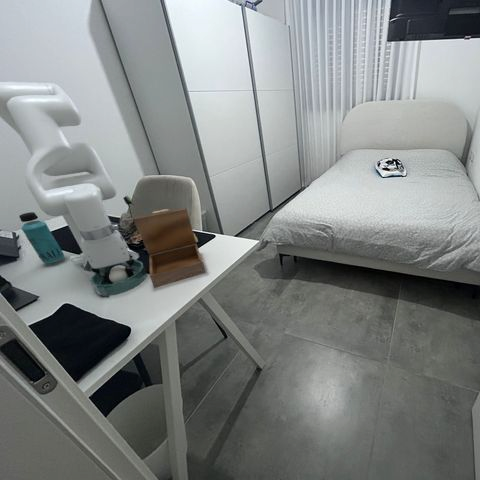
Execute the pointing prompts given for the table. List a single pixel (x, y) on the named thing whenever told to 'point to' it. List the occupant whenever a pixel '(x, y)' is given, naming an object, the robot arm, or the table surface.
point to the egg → (118, 274)
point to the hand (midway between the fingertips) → (121, 279)
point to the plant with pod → (129, 223)
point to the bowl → (119, 287)
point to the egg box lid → (165, 230)
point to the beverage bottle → (41, 238)
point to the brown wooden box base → (175, 265)
